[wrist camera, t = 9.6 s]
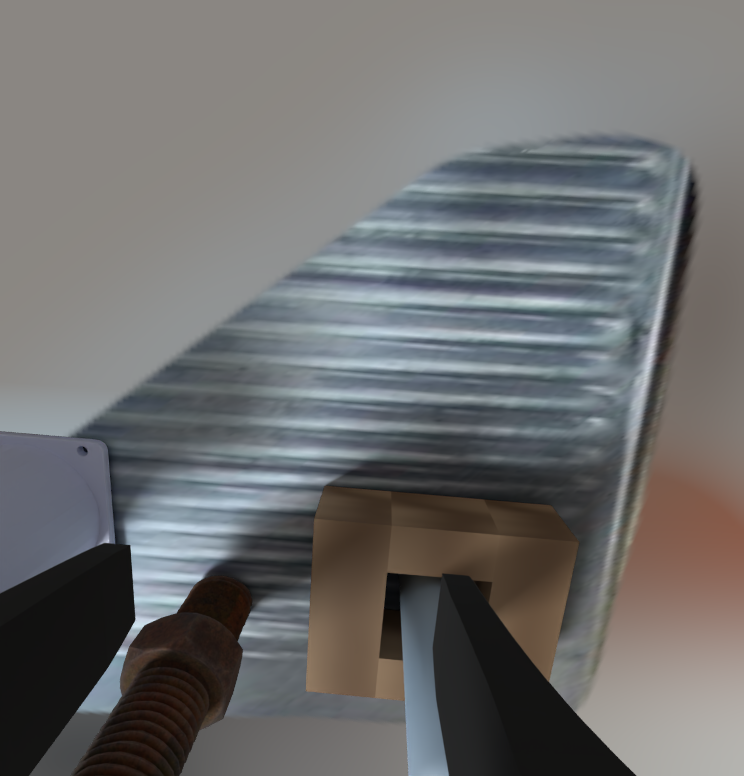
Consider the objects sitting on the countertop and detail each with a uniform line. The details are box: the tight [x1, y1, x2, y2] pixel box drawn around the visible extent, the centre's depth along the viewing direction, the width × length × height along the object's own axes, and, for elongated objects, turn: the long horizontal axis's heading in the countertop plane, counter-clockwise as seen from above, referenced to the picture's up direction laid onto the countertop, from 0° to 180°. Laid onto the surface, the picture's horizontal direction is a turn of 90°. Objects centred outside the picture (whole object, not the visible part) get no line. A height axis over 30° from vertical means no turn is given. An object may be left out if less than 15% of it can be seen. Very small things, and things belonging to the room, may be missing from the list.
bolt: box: [71, 575, 252, 776], centre depth 15 cm, size 6×5×15 cm
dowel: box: [399, 574, 449, 776], centre depth 16 cm, size 3×3×10 cm
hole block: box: [306, 486, 579, 701], centre depth 20 cm, size 11×9×3 cm
